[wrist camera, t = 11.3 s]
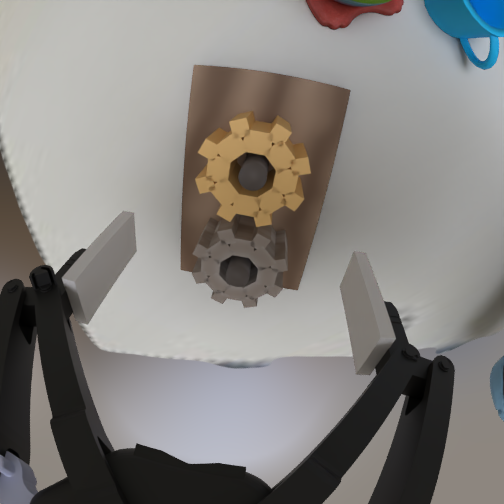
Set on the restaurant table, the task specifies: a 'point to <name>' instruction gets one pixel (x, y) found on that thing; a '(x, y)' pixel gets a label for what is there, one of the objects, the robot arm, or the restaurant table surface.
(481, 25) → the mug
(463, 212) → the restaurant table surface
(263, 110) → the gear board
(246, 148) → the ochre gear
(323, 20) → the stacking bear
